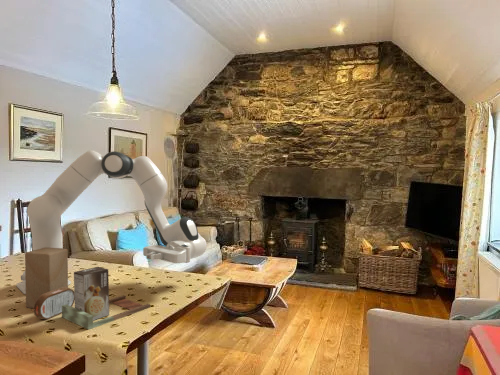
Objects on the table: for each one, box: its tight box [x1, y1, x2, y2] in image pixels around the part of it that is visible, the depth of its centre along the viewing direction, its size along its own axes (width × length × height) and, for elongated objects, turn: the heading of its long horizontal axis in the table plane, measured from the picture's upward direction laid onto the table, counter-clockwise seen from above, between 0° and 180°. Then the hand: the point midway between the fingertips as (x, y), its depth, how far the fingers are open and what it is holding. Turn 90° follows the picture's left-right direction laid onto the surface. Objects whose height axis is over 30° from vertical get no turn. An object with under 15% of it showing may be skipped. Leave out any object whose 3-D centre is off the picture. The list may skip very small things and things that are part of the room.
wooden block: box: [24, 247, 69, 309], centre depth 138 cm, size 10×10×20 cm
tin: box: [33, 287, 75, 320], centre depth 129 cm, size 15×3×8 cm, turn 159°
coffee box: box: [73, 266, 110, 321], centre depth 126 cm, size 9×6×16 cm
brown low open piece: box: [61, 295, 151, 330], centre depth 131 cm, size 16×24×4 cm, turn 144°
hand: (148, 257), depth 145 cm, fingers closed
